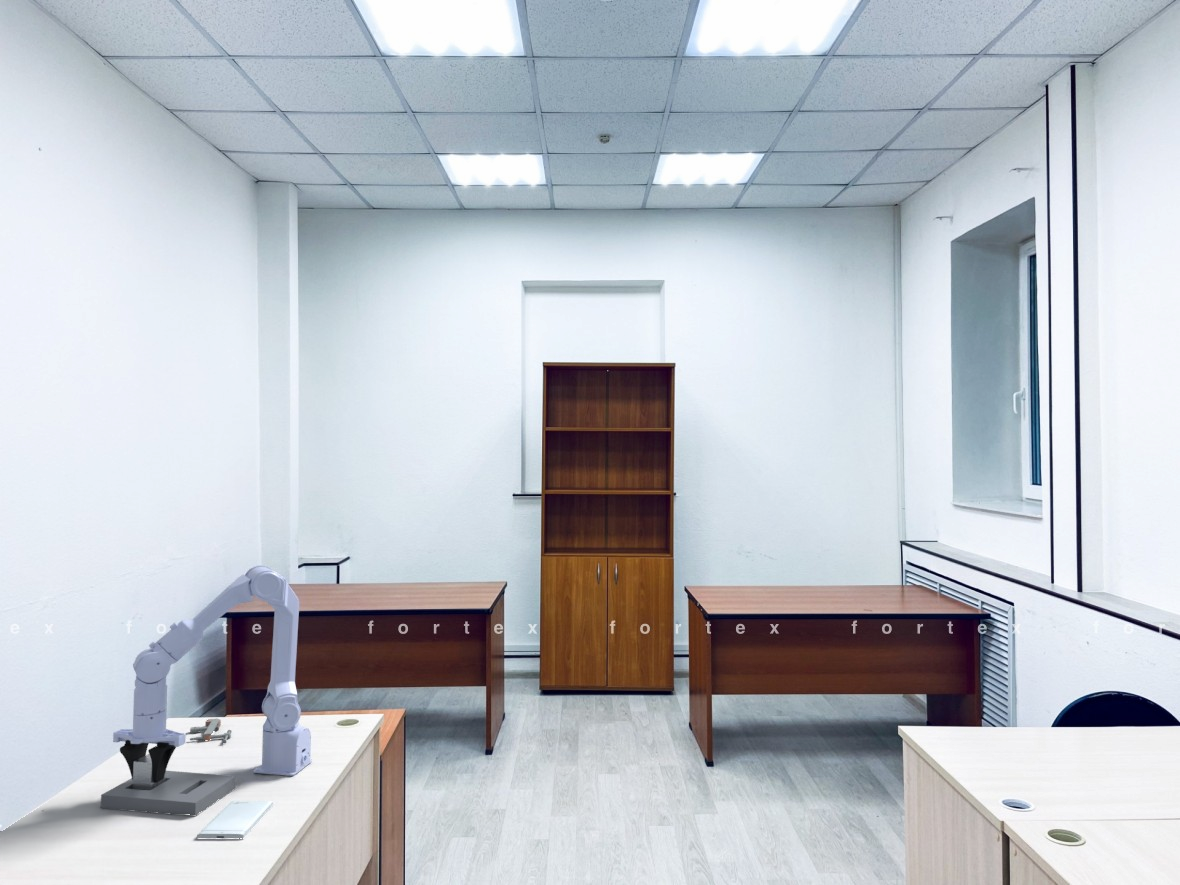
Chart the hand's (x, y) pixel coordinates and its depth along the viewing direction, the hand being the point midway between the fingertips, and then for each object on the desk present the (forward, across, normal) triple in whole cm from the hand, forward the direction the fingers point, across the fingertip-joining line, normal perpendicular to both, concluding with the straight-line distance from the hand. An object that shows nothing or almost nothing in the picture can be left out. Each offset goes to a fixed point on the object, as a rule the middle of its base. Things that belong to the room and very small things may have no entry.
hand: (148, 779), depth 144 cm
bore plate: (+3, +5, 0) cm, 6 cm away
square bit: (+2, 0, 0) cm, 2 cm away
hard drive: (+4, +24, -7) cm, 25 cm away
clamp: (+4, -9, +31) cm, 33 cm away
